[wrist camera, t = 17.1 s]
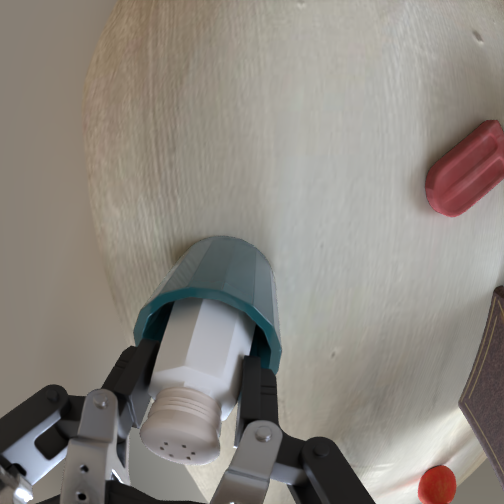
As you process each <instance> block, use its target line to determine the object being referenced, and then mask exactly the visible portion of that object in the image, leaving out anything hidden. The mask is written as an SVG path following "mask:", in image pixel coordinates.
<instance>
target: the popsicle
mask: <svg viewBox="0 0 504 504" xmlns="http://www.w3.org/2000/svg"><path fill="white" fill-rule="evenodd" d="M503 179H504V133H503V130H502V128H501V125H500V123H499V121H498V120H486V121H485V122H483V123H482V124H481V125H480V126H479V127H478V128H476V129H475V130H474V131H473V132H472V133H471V134H469V135H468V136H467V137H466V138H465V139H464V140H462V141H461V142H460V143H459V144H458V145H456V146H455V147H454V148H453V149H452V150H450V151H449V152H448V153H447V154H446V155H444V156H443V157H442V158H441V159H439V160H438V161H437V162H436V163H435V164H434V165H433V166H432V167H431V169H430V170H429V172H428V175H427V178H426V183H425V189H426V196H427V199H428V202H429V204H430V205H431V207H432V208H433V209H434V210H435V211H437V212H439V213H441V214H444V215H446V216H449V217H456V216H459V215H460V214H462V213H464V212H465V211H466V210H468V209H469V208H470V207H471V206H473V205H474V204H475V203H476V202H477V201H479V200H480V199H481V198H482V197H483V196H484V195H486V194H487V193H488V192H489V191H490V190H491V189H493V188H494V187H495V186H496V185H497V184H498V183H499V182H500V181H501V180H503Z"/></svg>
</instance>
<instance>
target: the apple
mask: <svg viewBox="0 0 504 504" xmlns="http://www.w3.org/2000/svg"><path fill="white" fill-rule="evenodd" d="M455 492H456V479H455V476H454V474H453V472H452V471H451V470H450V469H449V468H448V467H446V466H443V465H440V466H437V467H434V468H432V469H430V470H428V471H427V472H426V473H425V474H424V475H423V476H422V477H421V479H420V482H419V487H418V497H419V500H420V501H421V502H422V503H423V504H449V503H450V502H451V501H452V499H453V498H454V495H455Z"/></svg>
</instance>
